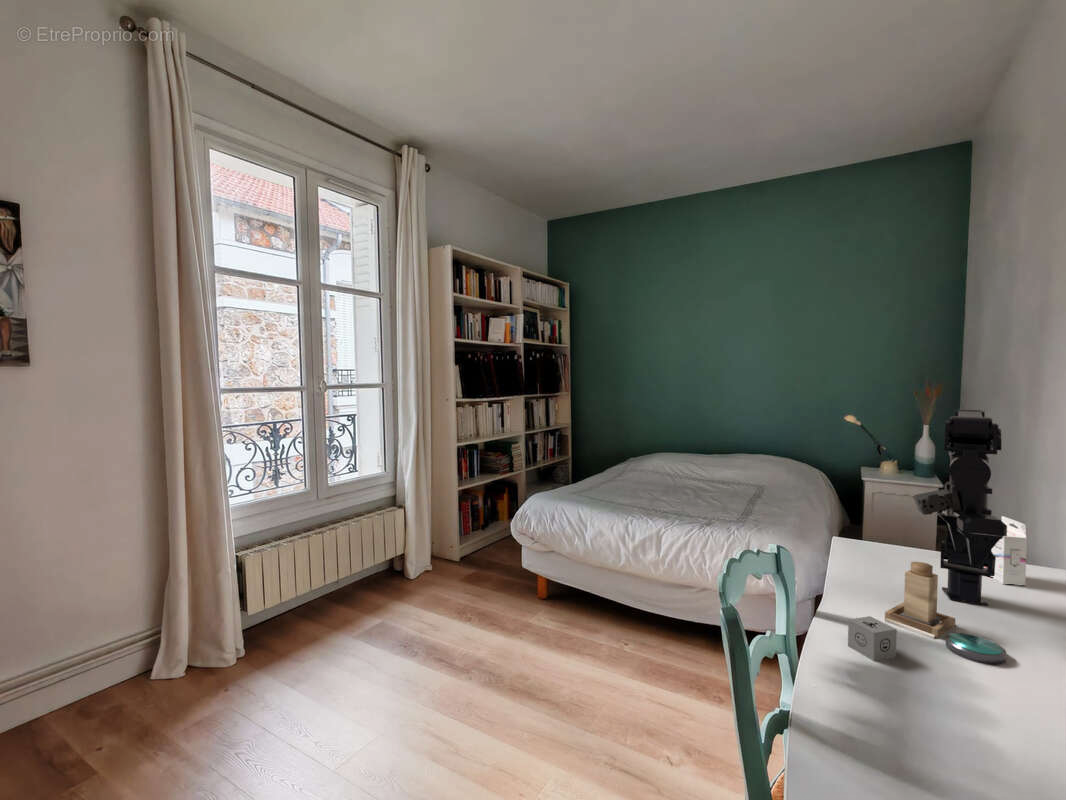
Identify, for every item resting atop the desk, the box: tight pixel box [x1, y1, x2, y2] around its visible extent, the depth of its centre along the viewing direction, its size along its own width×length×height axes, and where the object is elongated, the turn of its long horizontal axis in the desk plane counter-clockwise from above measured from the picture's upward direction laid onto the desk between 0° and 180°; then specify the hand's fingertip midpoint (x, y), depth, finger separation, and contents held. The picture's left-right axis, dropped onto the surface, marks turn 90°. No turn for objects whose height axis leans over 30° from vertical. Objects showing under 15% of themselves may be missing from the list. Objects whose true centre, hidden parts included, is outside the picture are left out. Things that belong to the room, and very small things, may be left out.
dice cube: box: [847, 615, 897, 662], centre depth 88 cm, size 5×5×5 cm
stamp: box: [901, 561, 940, 626], centre depth 98 cm, size 5×5×11 cm
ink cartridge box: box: [984, 515, 1028, 586], centre depth 121 cm, size 9×5×15 cm, turn 168°
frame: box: [884, 601, 956, 639], centre depth 98 cm, size 10×9×2 cm
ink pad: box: [945, 632, 1007, 666], centre depth 88 cm, size 8×8×2 cm
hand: (966, 558), depth 98 cm, fingers open, 9 cm apart
